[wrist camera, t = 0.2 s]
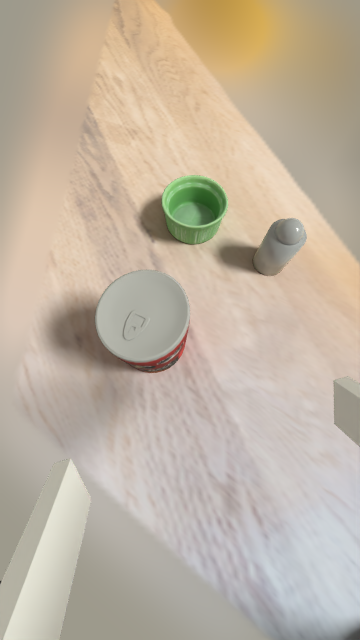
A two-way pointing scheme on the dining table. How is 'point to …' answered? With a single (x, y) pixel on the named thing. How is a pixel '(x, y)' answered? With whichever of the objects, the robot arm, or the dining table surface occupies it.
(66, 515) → the robot arm
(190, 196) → the ramekin
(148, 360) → the canned food
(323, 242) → the dining table surface
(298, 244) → the pepper pot
